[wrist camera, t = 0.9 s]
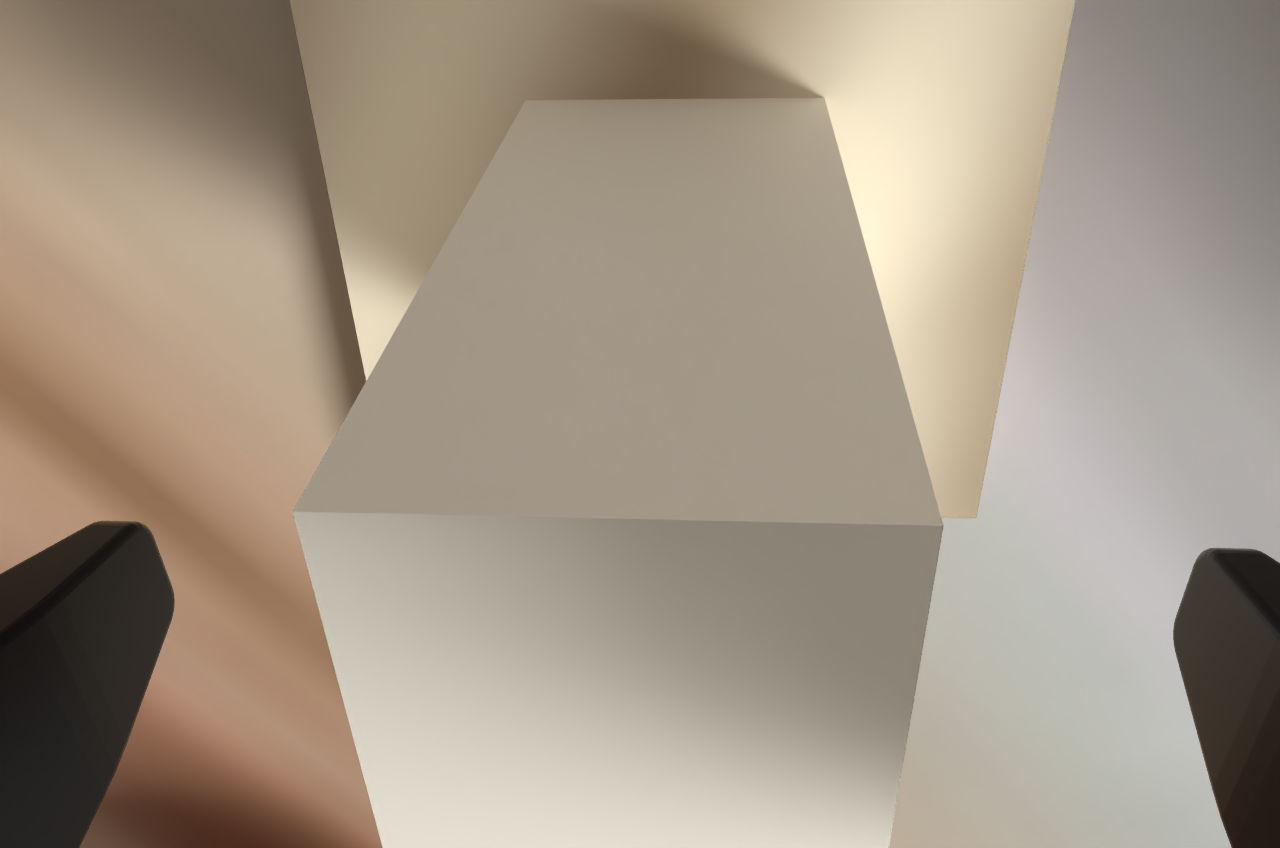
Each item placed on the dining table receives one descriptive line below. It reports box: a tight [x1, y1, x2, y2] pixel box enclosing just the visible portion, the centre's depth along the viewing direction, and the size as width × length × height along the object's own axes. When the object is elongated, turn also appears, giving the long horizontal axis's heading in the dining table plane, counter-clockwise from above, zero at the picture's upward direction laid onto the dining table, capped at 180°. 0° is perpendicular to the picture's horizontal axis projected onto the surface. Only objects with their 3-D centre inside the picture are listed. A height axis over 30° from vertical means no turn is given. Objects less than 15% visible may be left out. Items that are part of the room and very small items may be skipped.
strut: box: [293, 98, 943, 848], centre depth 11 cm, size 4×4×9 cm
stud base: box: [289, 0, 1075, 518], centre depth 14 cm, size 10×10×5 cm
